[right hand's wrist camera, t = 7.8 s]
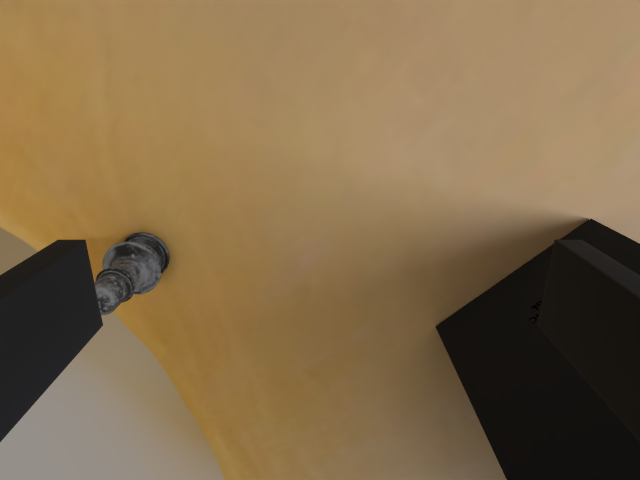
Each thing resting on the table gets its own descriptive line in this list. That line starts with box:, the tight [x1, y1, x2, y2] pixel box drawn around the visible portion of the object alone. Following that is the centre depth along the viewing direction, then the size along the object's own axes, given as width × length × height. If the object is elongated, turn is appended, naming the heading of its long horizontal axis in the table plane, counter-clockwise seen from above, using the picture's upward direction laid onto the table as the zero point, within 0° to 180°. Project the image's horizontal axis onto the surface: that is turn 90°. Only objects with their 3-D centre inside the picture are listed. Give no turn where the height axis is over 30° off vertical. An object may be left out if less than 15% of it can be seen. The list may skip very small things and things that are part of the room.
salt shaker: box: [94, 233, 169, 315], centre depth 41 cm, size 6×6×12 cm
